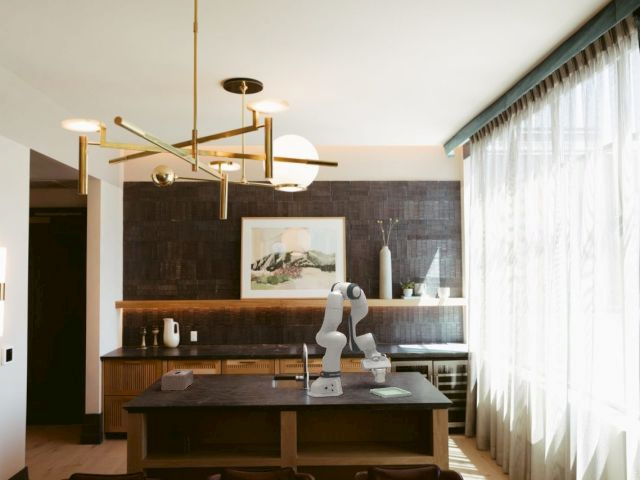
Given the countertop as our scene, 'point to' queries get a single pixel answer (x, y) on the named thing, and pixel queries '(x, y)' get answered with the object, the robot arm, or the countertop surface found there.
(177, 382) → the tissue box cover
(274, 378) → the countertop surface
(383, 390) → the tray
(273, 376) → the countertop surface
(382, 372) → the caddy
